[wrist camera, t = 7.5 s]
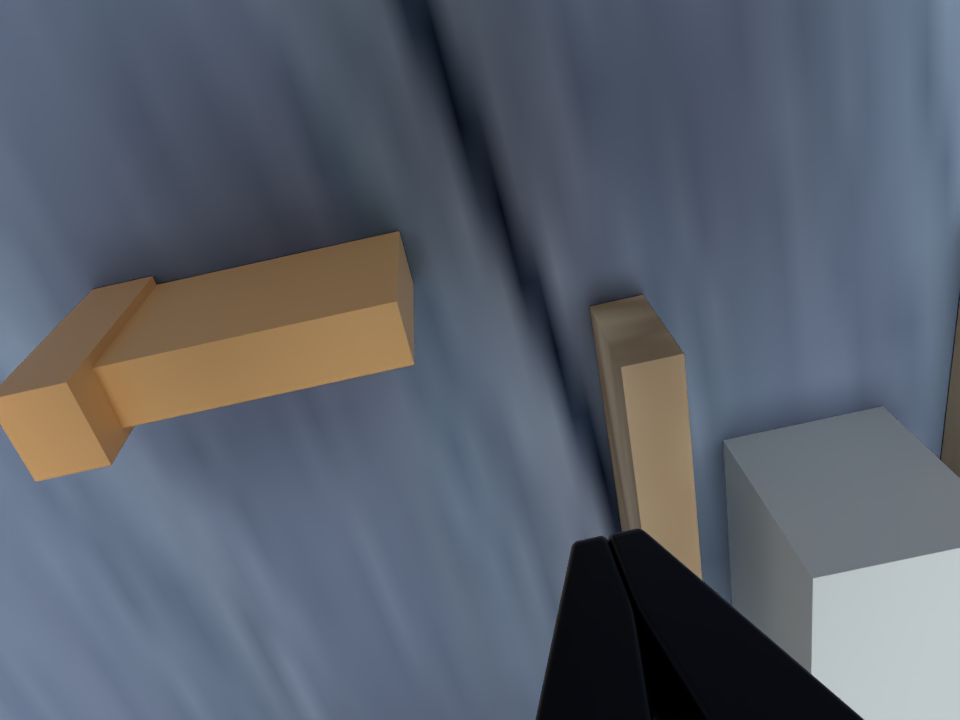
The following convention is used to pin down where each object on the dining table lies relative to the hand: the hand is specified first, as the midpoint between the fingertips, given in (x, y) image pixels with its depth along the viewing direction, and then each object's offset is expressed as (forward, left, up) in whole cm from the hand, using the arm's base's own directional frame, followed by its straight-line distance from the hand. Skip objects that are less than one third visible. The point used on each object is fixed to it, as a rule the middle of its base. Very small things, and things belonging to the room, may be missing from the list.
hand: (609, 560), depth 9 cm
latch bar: (-7, 0, -12) cm, 14 cm away
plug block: (+8, -12, -12) cm, 19 cm away
